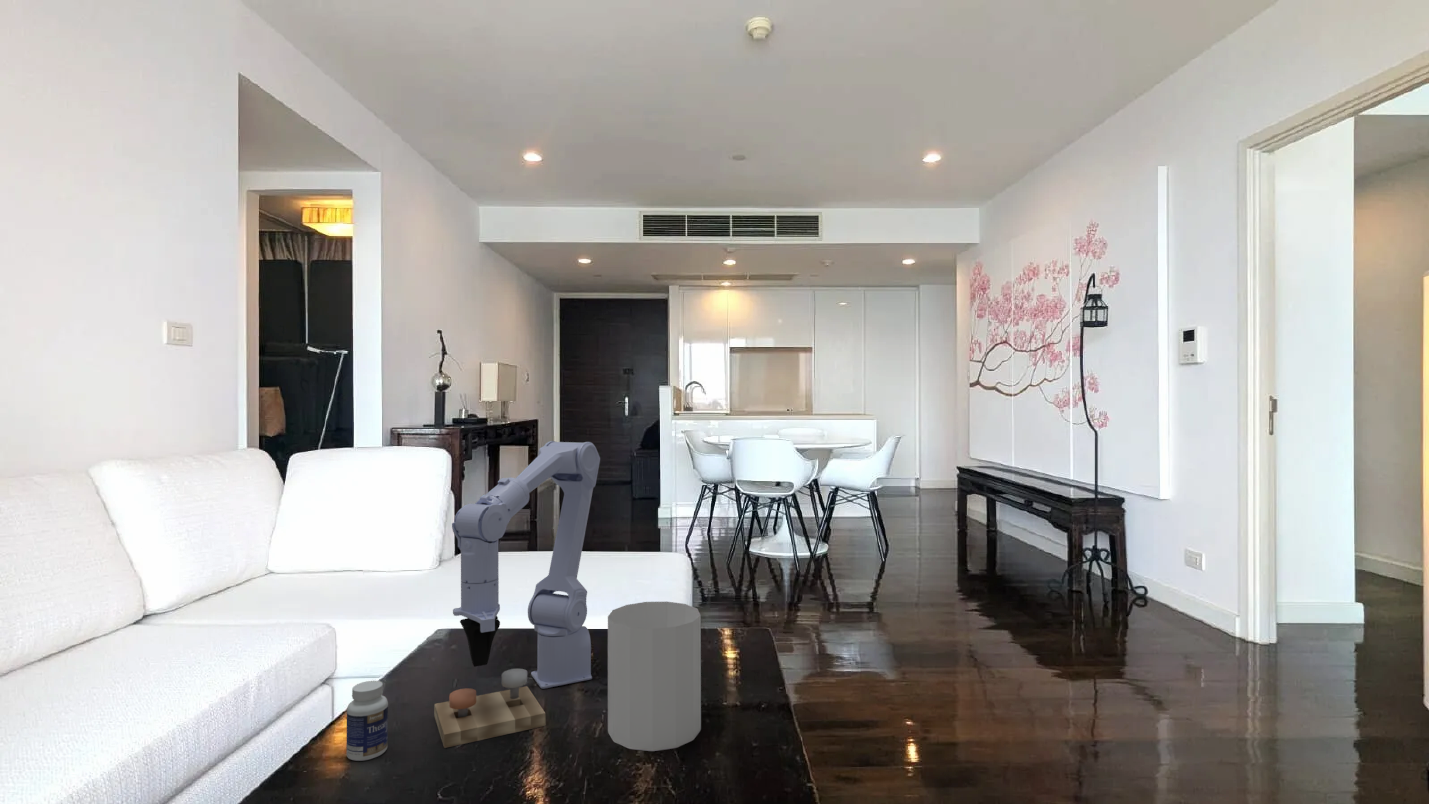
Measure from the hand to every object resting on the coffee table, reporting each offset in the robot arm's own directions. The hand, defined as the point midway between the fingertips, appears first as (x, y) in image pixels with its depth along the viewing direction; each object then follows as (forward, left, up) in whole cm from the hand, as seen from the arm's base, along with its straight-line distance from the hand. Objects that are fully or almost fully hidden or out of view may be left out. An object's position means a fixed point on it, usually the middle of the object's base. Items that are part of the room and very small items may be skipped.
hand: (479, 664), depth 110 cm
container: (-24, +15, -10) cm, 30 cm away
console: (-1, 0, -9) cm, 9 cm away
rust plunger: (+3, 0, -8) cm, 8 cm away
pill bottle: (+16, +2, -10) cm, 19 cm away
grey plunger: (-5, 0, -6) cm, 8 cm away
